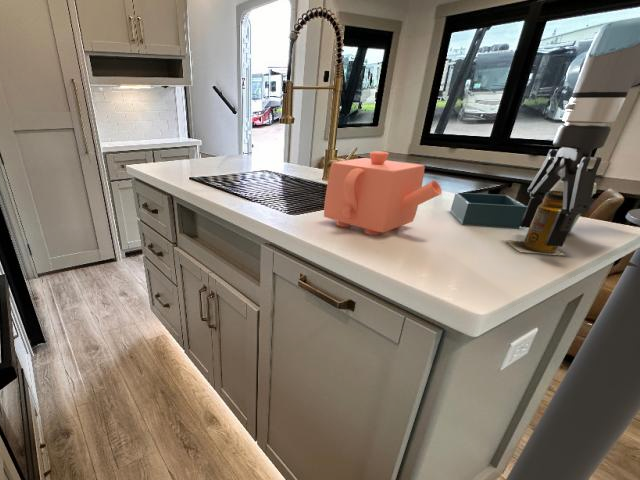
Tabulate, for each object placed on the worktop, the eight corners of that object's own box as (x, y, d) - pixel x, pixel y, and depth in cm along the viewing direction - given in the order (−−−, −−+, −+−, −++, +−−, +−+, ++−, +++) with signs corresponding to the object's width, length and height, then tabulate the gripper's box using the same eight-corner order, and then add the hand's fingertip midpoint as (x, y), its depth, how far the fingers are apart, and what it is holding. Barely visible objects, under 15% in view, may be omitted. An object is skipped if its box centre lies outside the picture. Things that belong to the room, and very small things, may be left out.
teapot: (449, 231, 89) (471, 154, 80) (402, 252, 76) (423, 164, 68) (361, 211, 106) (372, 145, 97) (311, 225, 93) (319, 151, 84)
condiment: (565, 256, 75) (592, 197, 69) (520, 252, 76) (543, 195, 70) (546, 244, 81) (570, 190, 75) (505, 241, 83) (525, 188, 77)
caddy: (500, 215, 102) (507, 195, 100) (519, 228, 91) (527, 206, 88) (449, 211, 105) (455, 192, 103) (461, 224, 94) (468, 203, 91)
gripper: (534, 121, 78) (499, 218, 88) (600, 127, 57) (545, 253, 68) (575, 121, 76) (534, 221, 87) (658, 128, 56) (592, 257, 66)
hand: (539, 235), depth 77 cm, fingers open, 12 cm apart
